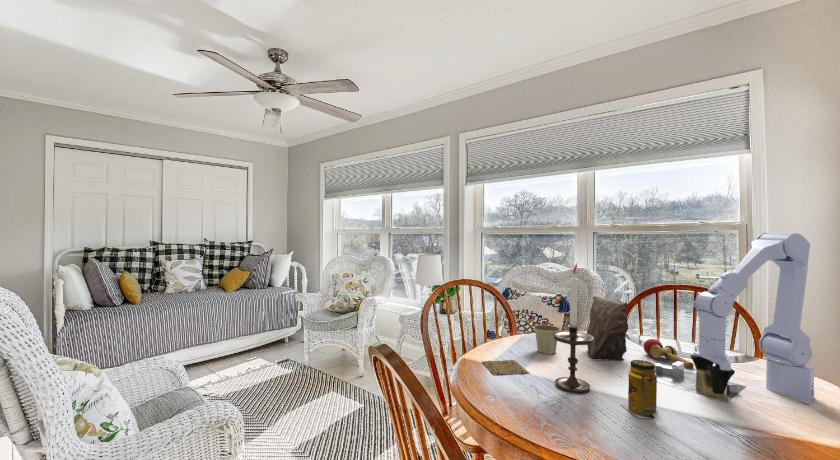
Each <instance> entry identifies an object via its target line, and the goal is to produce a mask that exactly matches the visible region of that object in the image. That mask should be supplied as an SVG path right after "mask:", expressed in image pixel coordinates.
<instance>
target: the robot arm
mask: <svg viewBox="0 0 840 460" xmlns="http://www.w3.org/2000/svg"><path fill="white" fill-rule="evenodd" d="M750 244H751V249H750V250H749V251H748V252H747V253H746V255H745V256H744V257H743V258H742V259H741V260H740V262H739V263H738V265H737V266H736V267H735V269H734V270H733V271H726V272H723V273H721V274H720V275H719V278H718V279H717V281H716V282H715V283H713V285H712V286H710V287H709V288H708V290H707V291H703V292H700V293H699V294H698V295H697V296H696V297H695V300H694V301H693V306H694V308H695V309H696V310H697V316H698V318H699V319H698V345H694V351H693V354H691V355H690V359H691V361H693V362H692V363H693V364H694V367H695V370H696V369H705V370H708V371H709V373H710V377H711V383H712V390H713V393H714V394H722V395H723V394H724V392H725V389H726V386H727V383H728V382H730V380H731V378H732V377H733V376H734V375H735V372H736V371H735V370H734V369H732V368H731V367H732V366H731V362H729V360H728V358H727V356H726V327H727V326H726V324H727V323H726V322H727V320H726V318H727V316H728V315H729V314H731V312H732V311H733V306H734V303H735V300H736V299H737V298H738V297H739V296H740V294H741V293H742V292H744V290H745V289H746V288H747V287H748V279H749V278H750V277H751V276H752V275H753V274H755V273H756V271H758V270H759V269H760V268H761V267H762V266H763V265H764V264H765V263H767V262H768V261H771V262H773V263H774V264H775V265H777V266H778V268H779V274H778V275H779V276H778V283H777V290H776V298H775V299H776V300H775V306H774V314H773V322H772V324H769V325H768V326H765V327H764V328H763V331H762V335H761V337H760V338H759V341H758V348H759V350H760V352H762V353H763V357H764V358H766V366H765V367H766V369H765V370H766V371H765V372H766V373H765V374H766V375H765V377H766V378H765V388H766V390H768V391H769V392H771V393H774V394H778V395H781V396H787V397H790V398H793V399H795V400H796V401H798V402H800V403H803V404H806V405H810V403H811V402H812V401H813V399H814V398H815V370H814V368H813V367H811V366H807V364H808V363H809V362H810V361H811V359H812V356H813V351H812V347H811V337H810V336H809V335H807V334H806V333H805V332H804V331H803V330H802V329H801V322H802V317H803V309H804V307H803V306H804V300H805V293H806V285H807V278H808V277H807V276H808V269H809V257H810V249H811V248H810V247H811V242H809V240H808V239H807V238H806V237H805V236H804V235H803V234H800V233H797V232H796V233H769V232H762V233H760V234H758V235H757V236H755V239H753V240H752V241H751V243H750Z"/></svg>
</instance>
